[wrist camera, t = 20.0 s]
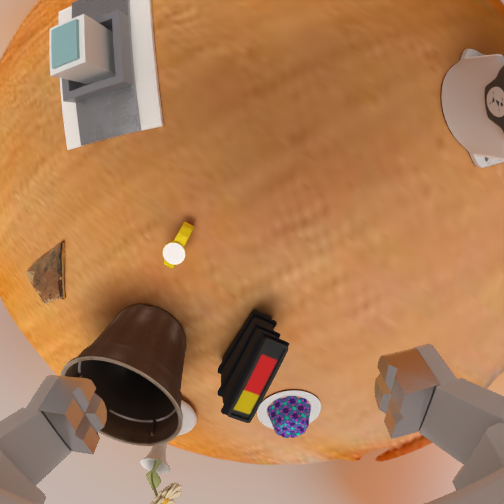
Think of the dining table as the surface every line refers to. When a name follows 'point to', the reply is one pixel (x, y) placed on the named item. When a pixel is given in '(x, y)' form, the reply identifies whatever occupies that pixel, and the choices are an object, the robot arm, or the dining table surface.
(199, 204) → the dining table surface
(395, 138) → the dining table surface
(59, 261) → the shard
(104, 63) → the module block
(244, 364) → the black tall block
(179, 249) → the watch
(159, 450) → the flower in vase
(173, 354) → the plant pot
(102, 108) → the rail holder
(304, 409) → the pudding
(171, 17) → the dining table surface
